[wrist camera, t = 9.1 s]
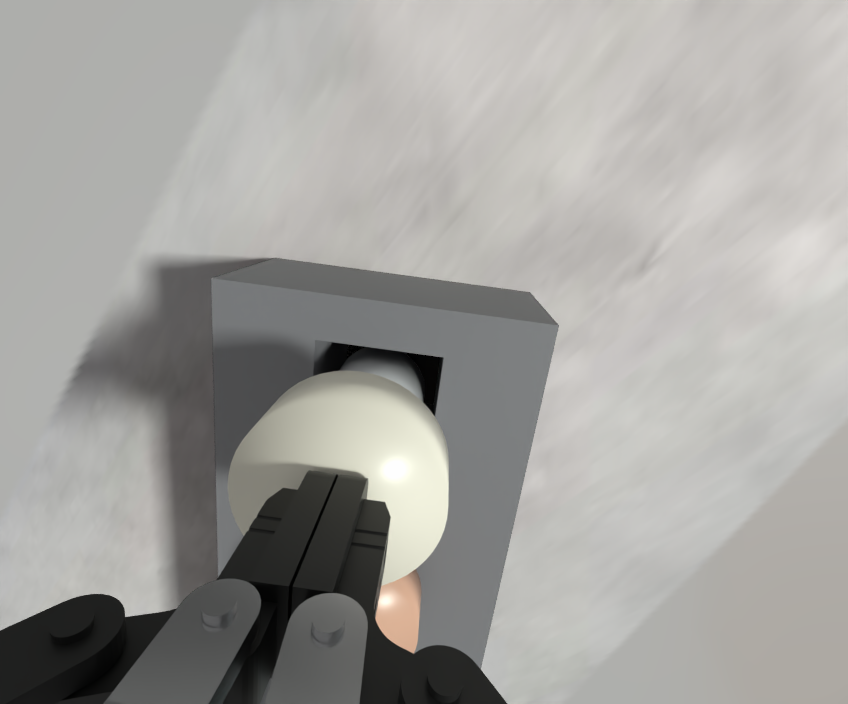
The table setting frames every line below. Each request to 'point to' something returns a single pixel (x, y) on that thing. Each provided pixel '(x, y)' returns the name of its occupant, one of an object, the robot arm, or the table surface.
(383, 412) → the knob
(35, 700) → the robot arm
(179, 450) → the table surface
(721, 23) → the table surface
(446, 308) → the mount
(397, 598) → the knob mid
